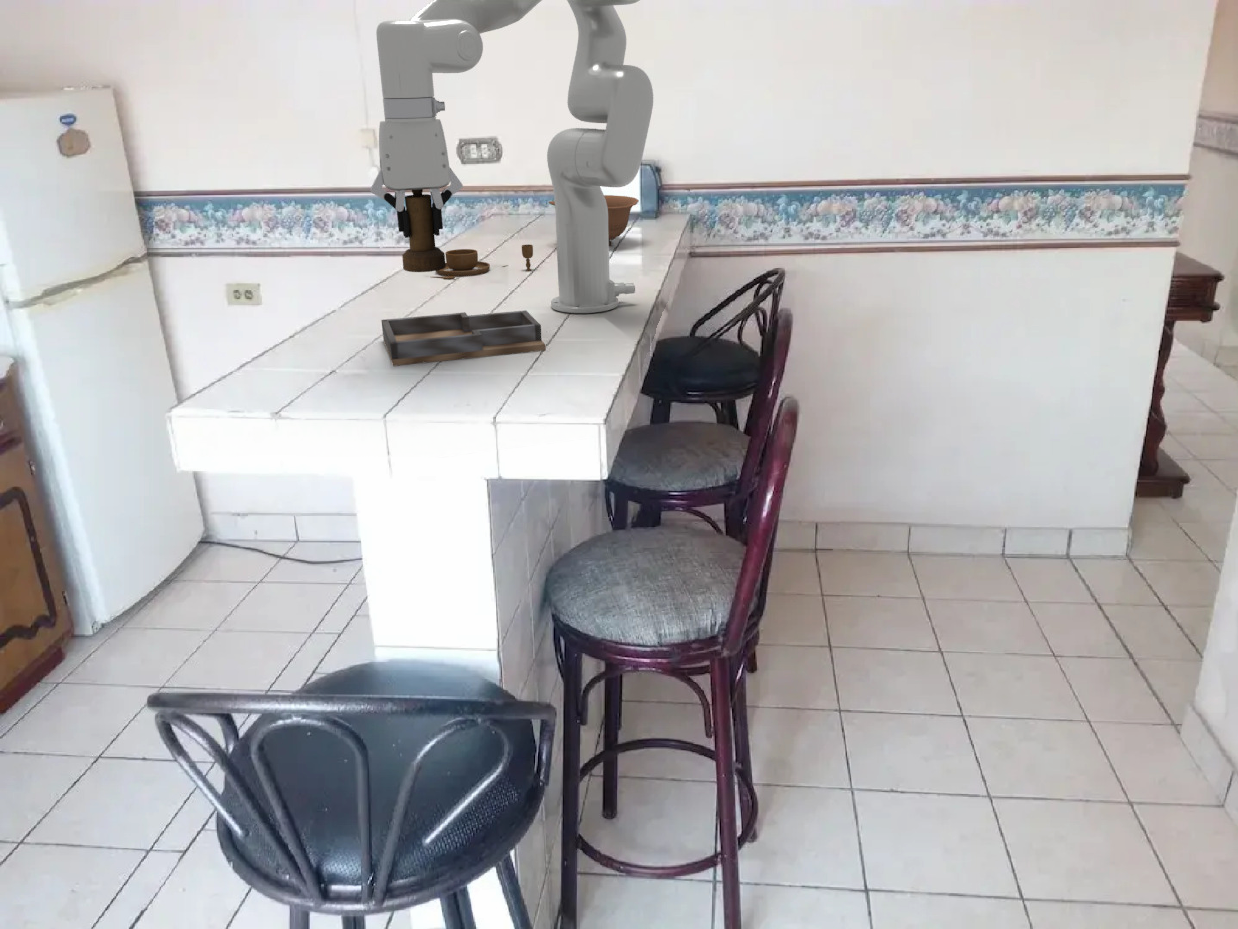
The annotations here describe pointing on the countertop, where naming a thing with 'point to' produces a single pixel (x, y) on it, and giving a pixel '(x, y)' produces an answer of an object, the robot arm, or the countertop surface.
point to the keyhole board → (460, 336)
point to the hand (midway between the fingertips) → (421, 234)
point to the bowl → (617, 214)
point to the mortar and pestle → (421, 236)
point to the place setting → (472, 263)
